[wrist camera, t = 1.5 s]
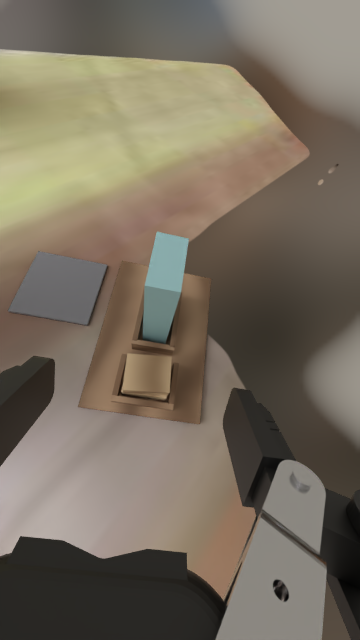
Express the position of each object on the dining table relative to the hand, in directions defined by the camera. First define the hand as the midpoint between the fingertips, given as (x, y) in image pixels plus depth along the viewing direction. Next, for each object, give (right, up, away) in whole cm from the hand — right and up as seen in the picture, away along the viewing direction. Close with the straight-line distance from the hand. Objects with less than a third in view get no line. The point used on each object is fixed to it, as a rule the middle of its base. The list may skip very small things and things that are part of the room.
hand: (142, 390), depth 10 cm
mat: (-15, +8, +22) cm, 28 cm away
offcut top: (-2, -3, +16) cm, 16 cm away
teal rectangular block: (-1, +3, +21) cm, 22 cm away
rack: (-2, +1, +21) cm, 22 cm away
